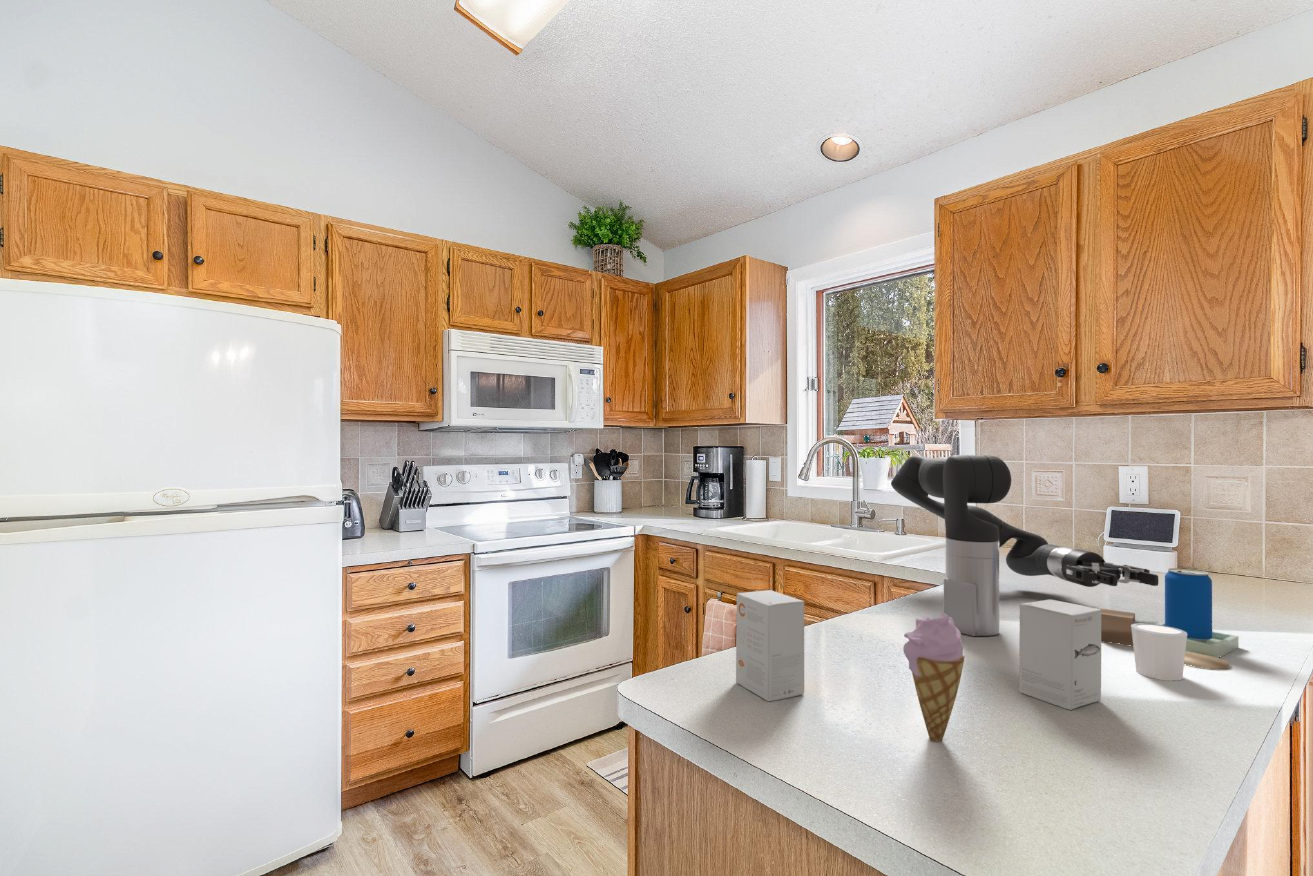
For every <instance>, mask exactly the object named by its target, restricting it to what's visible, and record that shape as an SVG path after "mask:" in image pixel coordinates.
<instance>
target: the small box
mask: <svg viewBox="0 0 1313 876" xmlns="http://www.w3.org/2000/svg"><path fill="white" fill-rule="evenodd" d="M735 623H736V625H735V627H736V630H735V631H736V637H735V641H736V642H735V643H736V644H735V646H736V647H735V683H736V684H738V685H740V686H741V687H743V688H744V689H747V690H748V691H750V692H752V693H753V694H755V695H757V696H758V697H760V698H762V699H763V700H765V701H766V702H774V701H777V700H784V699H788V698H792V697H793V698H794V697H797V696H801V695H805V601H804V600H801V599H800V598H799V599H798V598H796V597H793V596H790V595H787V594H783V593H780V592H777V591H776V590H775V591H774V590H772V589H768V590H767V589H766V590H757V591H746V592H737V593H736V622H735Z"/></svg>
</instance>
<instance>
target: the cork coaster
mask: <svg viewBox="0 0 1313 876" xmlns="http://www.w3.org/2000/svg"><path fill="white" fill-rule="evenodd" d="M1184 664H1186V665H1185V666H1187V665H1192V666H1195V667H1194V668H1197V667H1203V668H1202V669H1204V668H1209V669H1208V670H1214V669H1223V670H1228V669H1229V668H1230V662H1228V661H1227V660H1225V659H1222V658H1221V657H1220V658H1217V657H1214V656H1210V655H1206V654H1201V653H1195V652H1188V651H1185V659H1184ZM1192 666H1191V667H1192ZM1227 668H1228V669H1227Z"/></svg>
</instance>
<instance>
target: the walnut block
mask: <svg viewBox="0 0 1313 876" xmlns="http://www.w3.org/2000/svg"><path fill="white" fill-rule="evenodd" d="M1100 610H1101V642H1102V641H1104V643H1108V642H1112V643H1111V644H1114V643H1120V644H1123V645H1122V646H1126V645H1131V646H1130V647H1132V646H1133V638H1132V629H1131V625H1132V624H1136V613H1135V612H1130V611H1123V610H1116V609H1115V610H1114V609H1108V608H1100ZM1120 644H1119V645H1120Z"/></svg>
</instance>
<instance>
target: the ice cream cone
mask: <svg viewBox="0 0 1313 876" xmlns="http://www.w3.org/2000/svg"><path fill="white" fill-rule="evenodd" d="M903 636H904V638H906V639H908V641H907V642H905V643H904V645H903V654H904V656H905V658H906V659H907V661H908V669H909V670H910V671H911V673H912V679H913V683H914V687H915V688H914V689H915V692H916V695H917V698H918V703H919V708H920V711H921V713H922V714H921V715H922V717H923V720H924V721H923V722H924V724H925V728H926V731H927V735H928V738H929V740H930V741H932V742H936V743H942V741H943V740H944V737H945V734H946V731H947V728H948V724H949V721H950V717H951V715H952V712H953V708H954V705H955V702H956V699H957V694H958V689H959V687H960V683H961V678H962V674H963V668H964V663H965V659H966V658H965V656H964V654H963V653H964V652H963V651H964V645H963V642H962V641H961V640H962V633H960V631H959V630H958V629H957V628H956V627H955V626H954V622H953V619H952V618H951V617H948V616H947V615H946V614H944V612H942V615H941V616H940V617H938V618H930V617H929V616H926V617H923V618H922V619H920V618H916V619H915V629H913V631H908V632H905V633H904V634H903Z"/></svg>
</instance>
